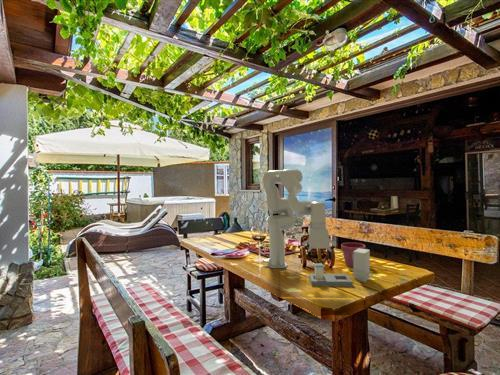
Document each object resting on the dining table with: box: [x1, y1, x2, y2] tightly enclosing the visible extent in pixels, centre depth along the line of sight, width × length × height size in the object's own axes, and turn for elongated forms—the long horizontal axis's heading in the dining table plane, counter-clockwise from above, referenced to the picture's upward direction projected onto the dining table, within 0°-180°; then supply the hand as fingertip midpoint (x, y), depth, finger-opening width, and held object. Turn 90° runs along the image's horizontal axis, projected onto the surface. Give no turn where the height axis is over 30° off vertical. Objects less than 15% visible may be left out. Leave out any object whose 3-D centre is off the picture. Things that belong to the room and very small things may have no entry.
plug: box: [314, 262, 325, 279], centre depth 153 cm, size 4×4×9 cm
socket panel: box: [308, 273, 354, 287], centre depth 153 cm, size 20×12×3 cm, turn 85°
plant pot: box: [340, 242, 366, 268], centre depth 184 cm, size 14×14×13 cm
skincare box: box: [352, 248, 371, 283], centre depth 158 cm, size 8×7×16 cm
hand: (319, 259), depth 153 cm, fingers open, 9 cm apart
